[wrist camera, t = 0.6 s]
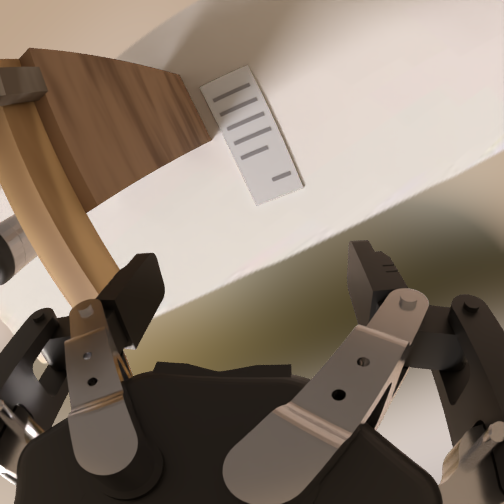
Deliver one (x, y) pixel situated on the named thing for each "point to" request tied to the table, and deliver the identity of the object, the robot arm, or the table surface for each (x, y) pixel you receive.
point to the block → (49, 205)
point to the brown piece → (105, 117)
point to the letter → (252, 135)
